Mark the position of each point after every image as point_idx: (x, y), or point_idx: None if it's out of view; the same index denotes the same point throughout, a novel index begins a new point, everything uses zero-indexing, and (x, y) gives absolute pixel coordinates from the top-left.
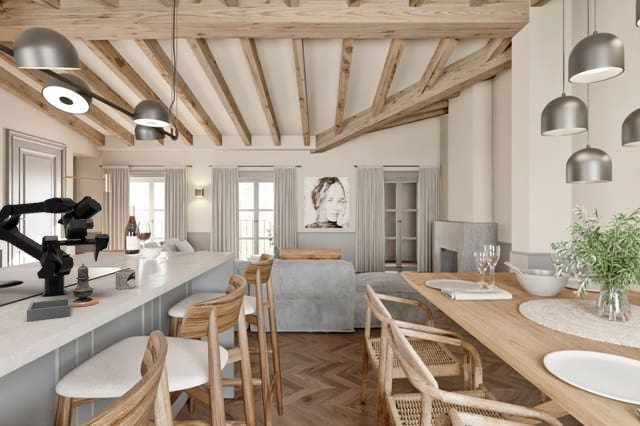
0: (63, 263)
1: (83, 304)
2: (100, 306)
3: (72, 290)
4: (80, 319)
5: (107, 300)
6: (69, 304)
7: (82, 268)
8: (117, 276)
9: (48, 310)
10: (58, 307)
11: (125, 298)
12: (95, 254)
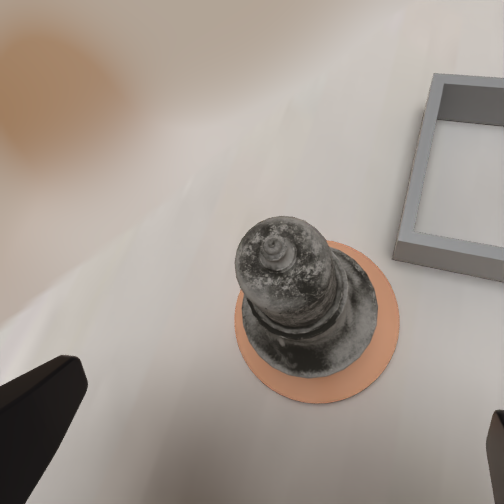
0: (494, 425)
1: (332, 243)
2: (268, 200)
3: (374, 316)
4: (398, 41)
5: (197, 306)
6: (432, 99)
7: (297, 219)
8: None
9: None
10: (489, 79)
11: (121, 284)
12: (4, 409)
